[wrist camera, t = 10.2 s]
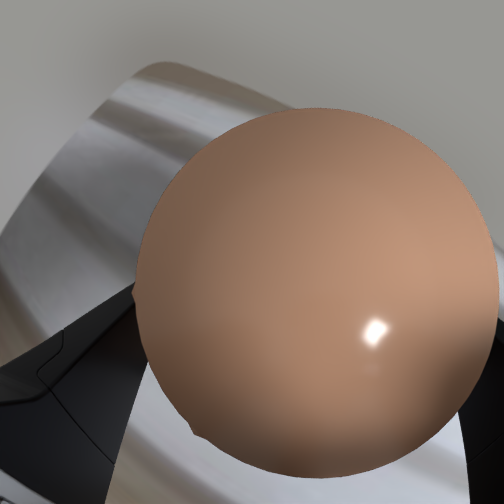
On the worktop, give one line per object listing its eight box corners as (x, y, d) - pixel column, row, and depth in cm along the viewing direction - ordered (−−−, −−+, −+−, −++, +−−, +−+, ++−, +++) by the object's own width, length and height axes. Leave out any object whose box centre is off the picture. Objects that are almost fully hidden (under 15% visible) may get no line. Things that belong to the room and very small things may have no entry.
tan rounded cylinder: (257, 398, 16) (239, 527, 4) (204, 282, 17) (93, 193, 6) (371, 340, 16) (532, 346, 4) (317, 230, 18) (387, 78, 6)
